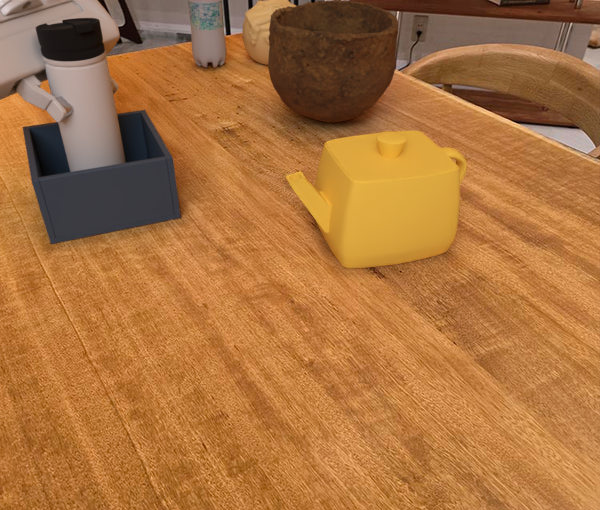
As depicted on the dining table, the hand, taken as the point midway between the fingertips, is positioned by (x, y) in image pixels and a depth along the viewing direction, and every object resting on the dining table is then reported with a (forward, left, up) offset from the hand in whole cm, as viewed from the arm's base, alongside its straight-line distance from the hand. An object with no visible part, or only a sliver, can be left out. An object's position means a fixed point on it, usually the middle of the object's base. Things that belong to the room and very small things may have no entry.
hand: (90, 104), depth 63 cm
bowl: (+36, +13, -12) cm, 40 cm away
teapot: (+26, -19, -12) cm, 34 cm away
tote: (0, 0, -12) cm, 12 cm away
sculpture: (+38, +42, -12) cm, 58 cm away
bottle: (+26, +44, -12) cm, 53 cm away
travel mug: (-1, 0, -12) cm, 12 cm away
